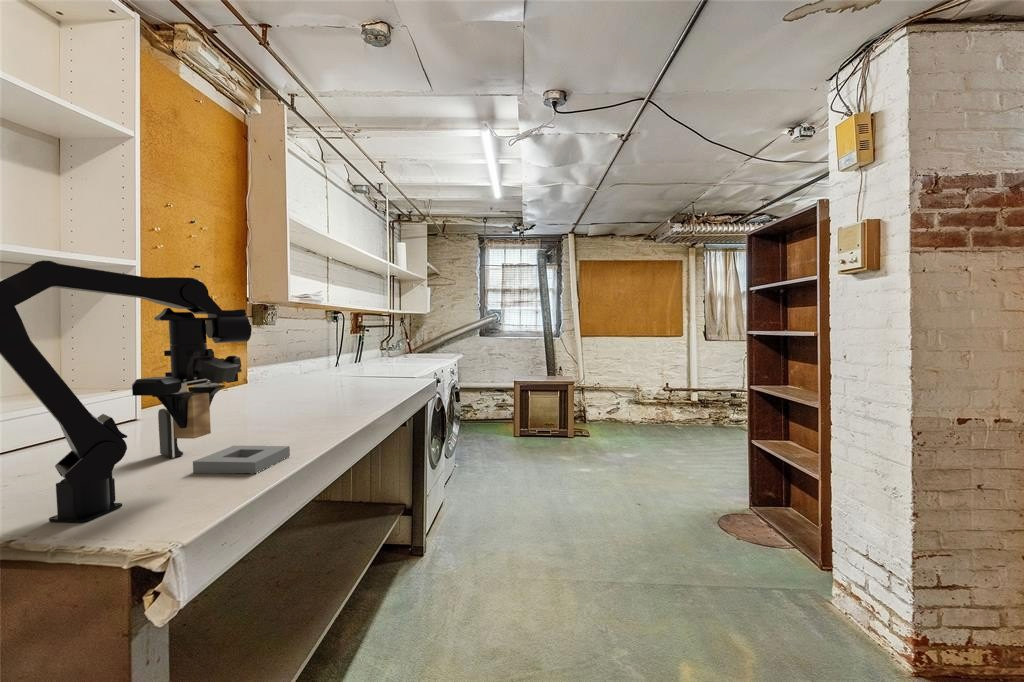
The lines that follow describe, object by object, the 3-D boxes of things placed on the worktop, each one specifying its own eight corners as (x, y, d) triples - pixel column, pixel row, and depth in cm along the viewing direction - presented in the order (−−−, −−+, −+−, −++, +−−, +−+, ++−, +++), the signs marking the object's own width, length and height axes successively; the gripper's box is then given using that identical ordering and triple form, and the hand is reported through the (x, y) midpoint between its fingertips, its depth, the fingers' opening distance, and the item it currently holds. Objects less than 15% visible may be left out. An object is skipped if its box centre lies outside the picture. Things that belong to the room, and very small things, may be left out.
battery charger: (188, 455, 106) (186, 408, 105) (169, 459, 103) (167, 411, 102) (178, 450, 110) (176, 405, 109) (159, 454, 107) (157, 407, 106)
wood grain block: (194, 438, 83) (192, 396, 82) (174, 438, 83) (172, 396, 83) (210, 433, 87) (208, 392, 86) (192, 433, 87) (190, 392, 87)
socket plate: (255, 474, 92) (255, 462, 91) (193, 473, 93) (192, 461, 93) (289, 456, 103) (289, 446, 103) (234, 455, 105) (233, 445, 105)
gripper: (187, 346, 74) (191, 438, 75) (260, 341, 93) (263, 415, 93) (127, 347, 75) (131, 437, 76) (211, 342, 94) (214, 414, 94)
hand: (192, 425), depth 85 cm, fingers closed on wood grain block, 4 cm apart
